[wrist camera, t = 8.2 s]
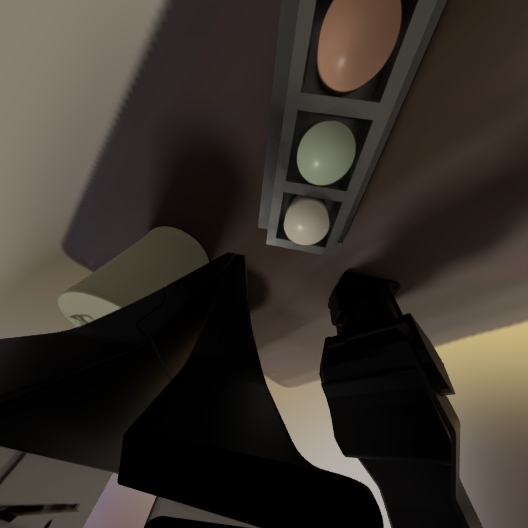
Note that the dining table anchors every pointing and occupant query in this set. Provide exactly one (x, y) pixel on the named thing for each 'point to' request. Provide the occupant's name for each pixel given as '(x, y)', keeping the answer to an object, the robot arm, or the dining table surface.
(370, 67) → the brown egg
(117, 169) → the dining table surface
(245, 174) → the dining table surface
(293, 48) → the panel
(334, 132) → the green rounded piece
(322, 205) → the white egg
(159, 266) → the can
